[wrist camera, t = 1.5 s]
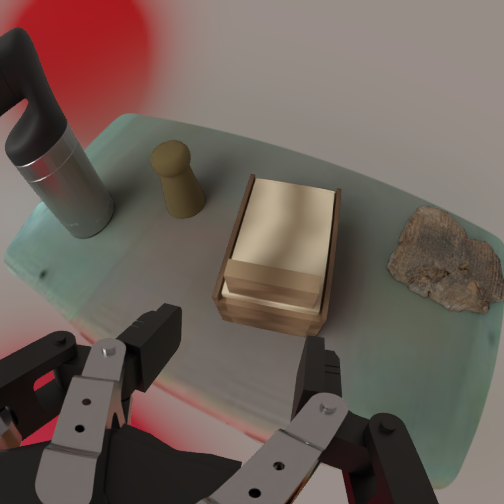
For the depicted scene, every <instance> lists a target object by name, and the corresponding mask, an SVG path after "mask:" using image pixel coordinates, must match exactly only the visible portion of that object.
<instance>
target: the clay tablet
mask: <svg viewBox="0 0 504 504" xmlns="http://www.w3.org/2000/svg"><path fill="white" fill-rule="evenodd" d="M398 242H399V243H400V245H399V246H398V247H397V248H396V250H395V251H394V252H392V254H391V257H390V259H389V262H388V264H387V270H388V271H389V272H390V273H391V274H392V276H393V277H394V278H395V279H396V280H398V281H399V282H403V283H404V284H405V285H407V286H408V289H409V290H411V291H413V292H415V293H417V294H419V295H421V296H422V297H424V298H426V297H427V296H428V294H429V296H430V297H431V298H432V299H433V300H434V301H435V302H437V303H439V304H441V305H443V306H444V307H445V308H446V309H448V310H450V311H456V312H460V311H461V310H467V311H470V312H478V313H479V314H485V313H486V312H487V311H488V310H489V309H490V306H489V303H494V302H500V301H503V300H504V279H503V276H502V269H501V264H500V259H499V258H498V256H497V255H496V254H495V253H494V251H493V249H492V248H491V246H490V245H489V244H488V243H487V242H486V241H484V242H482V241H481V242H479V241H477V240H475V239H468V238H467V235H466V233H465V230H464V229H463V228H462V227H461V226H459V225H458V224H457V222H456V221H455V220H454V219H453V218H452V217H451V216H450V215H449V214H448V213H447V212H445V211H442V210H439V209H437V208H431V207H427V206H422V207H419V208H417V210H416V212H415V213H414V215H413V216H412V217H411V218H410V219H409V220H408V221H407V223H406V225H405V227H404V229H403V231H402V233H401V236H400V238H399V241H398Z"/></svg>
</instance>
